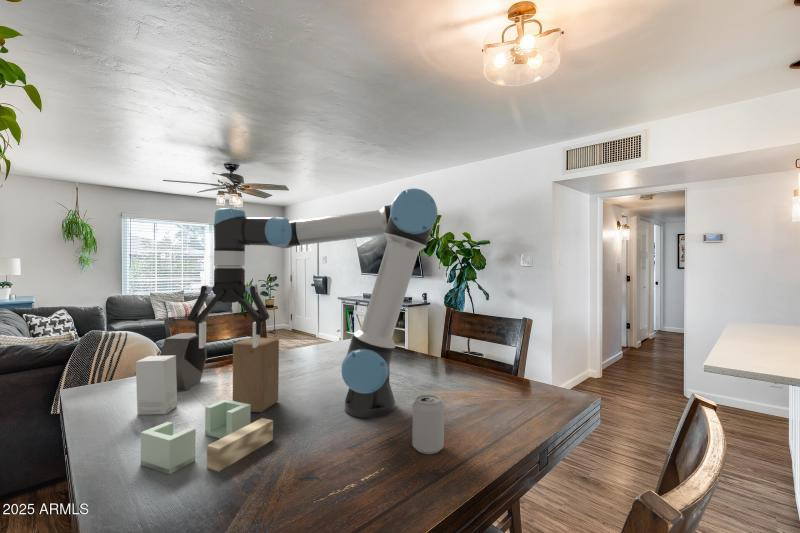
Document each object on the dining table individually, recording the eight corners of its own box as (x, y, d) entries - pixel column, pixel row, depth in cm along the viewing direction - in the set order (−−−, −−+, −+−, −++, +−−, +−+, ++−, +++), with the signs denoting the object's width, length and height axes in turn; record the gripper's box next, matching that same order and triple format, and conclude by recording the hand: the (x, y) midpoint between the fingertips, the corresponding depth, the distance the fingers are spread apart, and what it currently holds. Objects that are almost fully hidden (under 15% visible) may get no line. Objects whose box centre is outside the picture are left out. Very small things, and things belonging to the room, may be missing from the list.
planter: (175, 383, 122) (193, 323, 133) (150, 383, 121) (170, 323, 132) (196, 397, 136) (210, 341, 147) (173, 397, 135) (190, 341, 147)
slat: (261, 437, 96) (262, 418, 96) (272, 440, 94) (273, 420, 94) (206, 469, 81) (207, 445, 81) (218, 472, 80) (219, 448, 80)
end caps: (224, 425, 102) (224, 399, 102) (250, 431, 98) (250, 404, 98) (140, 464, 82) (140, 432, 82) (169, 474, 78) (169, 440, 78)
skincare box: (177, 406, 115) (178, 354, 114) (164, 415, 108) (165, 360, 108) (149, 406, 114) (149, 354, 114) (134, 415, 108) (135, 360, 108)
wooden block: (261, 414, 110) (262, 344, 110) (230, 411, 112) (231, 342, 112) (279, 401, 120) (280, 338, 120) (250, 399, 122) (251, 336, 122)
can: (424, 437, 96) (425, 390, 96) (449, 447, 92) (450, 397, 92) (405, 448, 91) (406, 398, 90) (432, 459, 86) (432, 406, 86)
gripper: (280, 267, 107) (280, 343, 107) (187, 266, 104) (186, 344, 105) (274, 267, 99) (273, 349, 99) (173, 267, 97) (173, 350, 97)
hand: (229, 347), depth 102 cm, fingers open, 13 cm apart
